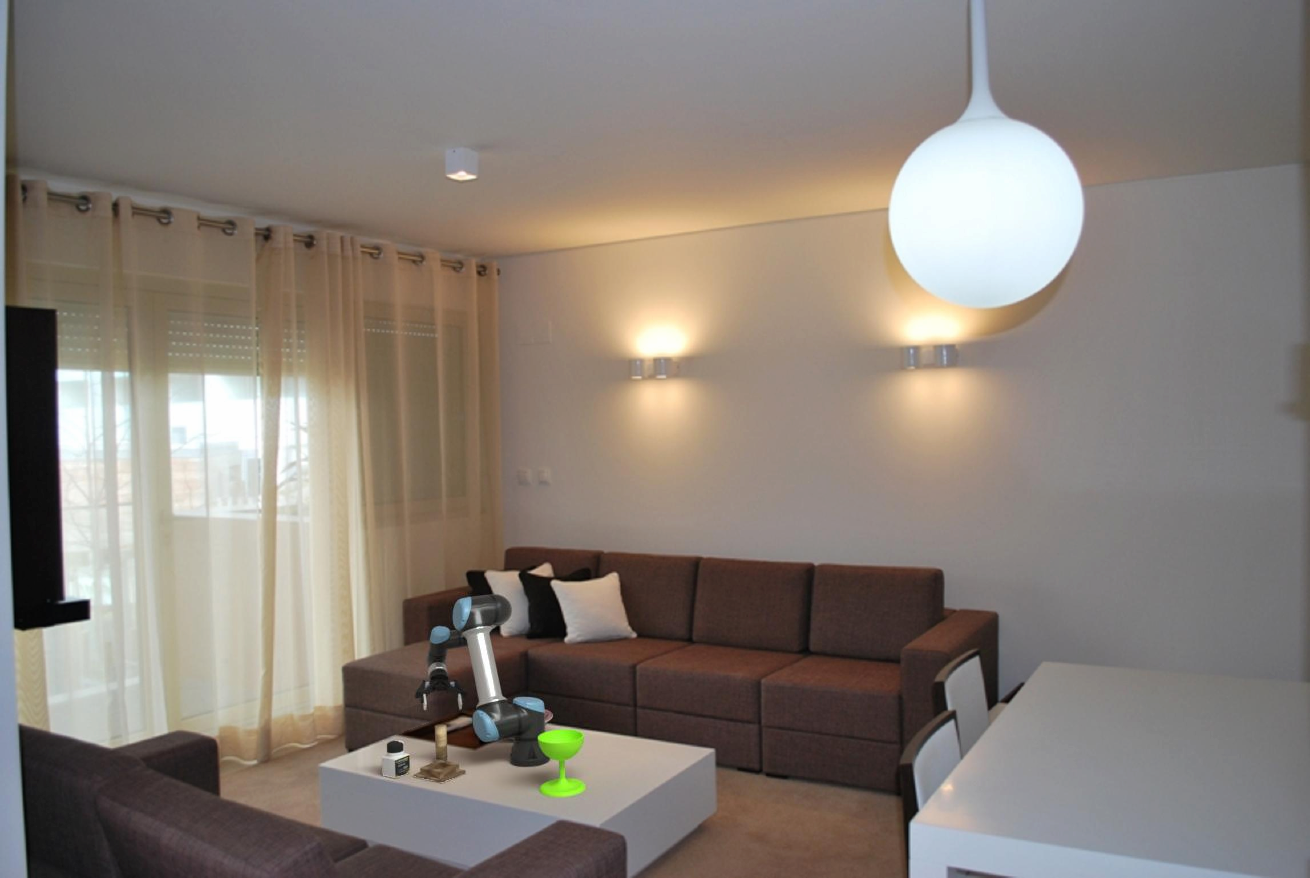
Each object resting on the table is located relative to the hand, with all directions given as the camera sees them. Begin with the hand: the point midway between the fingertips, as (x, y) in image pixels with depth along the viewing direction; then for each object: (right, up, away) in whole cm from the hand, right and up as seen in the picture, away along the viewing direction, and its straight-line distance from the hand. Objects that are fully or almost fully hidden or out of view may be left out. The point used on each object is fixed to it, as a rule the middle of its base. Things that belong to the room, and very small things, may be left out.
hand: (443, 706), depth 373 cm
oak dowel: (+2, -18, -11) cm, 21 cm away
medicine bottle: (-12, -19, -22) cm, 32 cm away
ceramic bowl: (+26, -18, +20) cm, 37 cm away
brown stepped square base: (+4, -18, -24) cm, 31 cm away
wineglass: (+50, -17, -41) cm, 67 cm away
